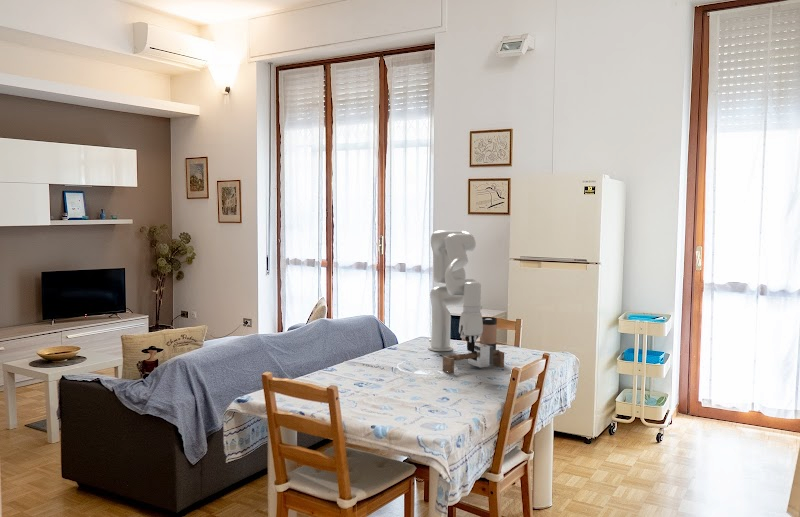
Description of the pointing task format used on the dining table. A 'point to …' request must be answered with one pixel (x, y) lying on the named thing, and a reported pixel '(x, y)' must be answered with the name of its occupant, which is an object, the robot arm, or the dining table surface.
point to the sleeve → (480, 355)
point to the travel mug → (489, 331)
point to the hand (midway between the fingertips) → (470, 350)
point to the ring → (490, 354)
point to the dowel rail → (449, 360)
